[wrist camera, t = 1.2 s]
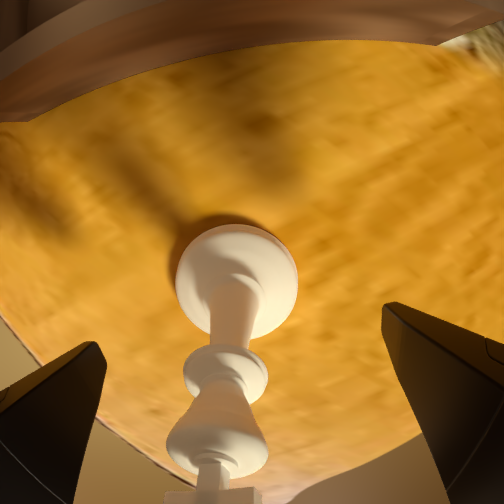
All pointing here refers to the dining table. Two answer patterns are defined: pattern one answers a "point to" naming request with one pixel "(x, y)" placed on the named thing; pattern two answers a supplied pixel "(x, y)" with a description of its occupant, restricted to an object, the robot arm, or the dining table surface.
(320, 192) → the dining table surface
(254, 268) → the chess piece
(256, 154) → the dining table surface
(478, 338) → the robot arm
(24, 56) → the walnut box
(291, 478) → the dining table surface
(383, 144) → the dining table surface
